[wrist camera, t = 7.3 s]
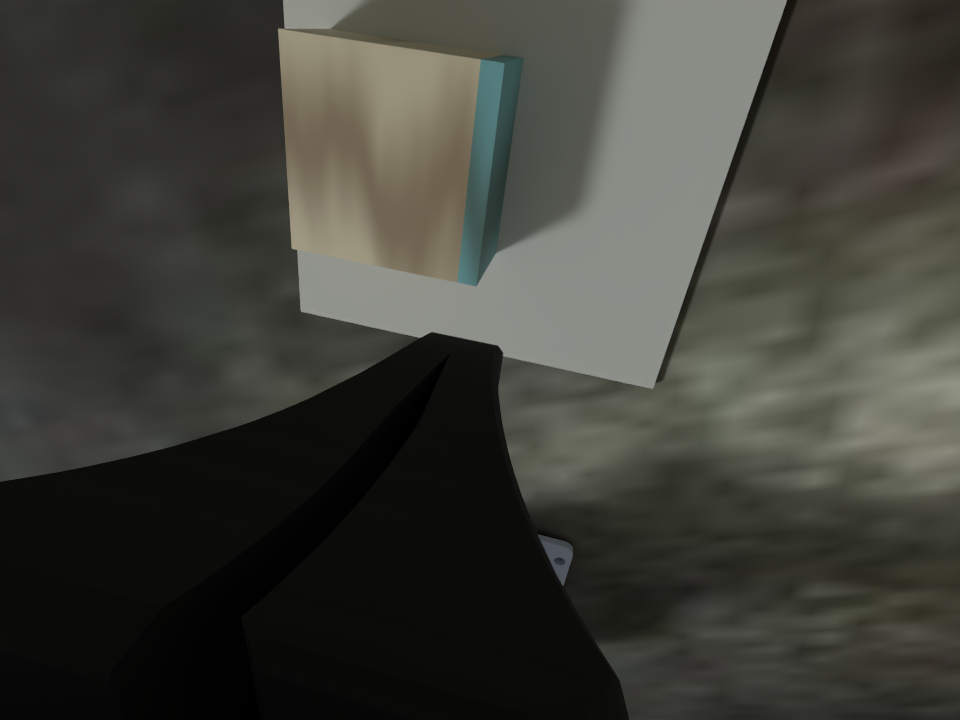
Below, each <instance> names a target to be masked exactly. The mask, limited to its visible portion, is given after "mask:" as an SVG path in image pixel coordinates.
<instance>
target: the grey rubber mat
mask: <svg viewBox="0 0 960 720" xmlns="http://www.w3.org/2000/svg"><path fill="white" fill-rule="evenodd" d="M786 2H787V0H283V5H284V23H285V29H334V30H341V31H347V32H354V33H361V34H367V35H374V36H381V37H387V38H394V39H401V40H407V41H414V42H421V43H427V44H434V45H441V46H447V47H454V48H461V49H467V50H474V51H480V52H487V53H494V54H500V55H507V56H514V57H520V58H523V65H522V72H521V79H520V87H519V94H518V101H517V108H516V115H515V122H514V129H513V136H512V143H511V150H510V157H509V164H508V171H507V179H506V186H505V193H504V200H503V207H502V214H501V221H500V228H499V235H498V242H497V249H496V254H495V256H494V257H493V259H492V261H491V262H490V264H489V266H488V268H487V269H486V271H485V273H484V274H483V276H482V278H481V280H480V281H479V283H478V285H477V286H471V285H467V284H462V283H457V282H452V281H447V280H442V279H437V278H432V277H428V276H423V275H418V274H413V273H408V272H403V271H398V270H393V269H389V268H384V267H379V266H374V265H369V264H364V263H359V262H354V261H350V260H345V259H340V258H335V257H330V256H325V255H320V254H315V253H311V252H306V251H301V250H297V252H298V270H299V288H300V305H301V312H305V313H310V314H314V315H319V316H323V317H328V318H333V319H337V320H342V321H346V322H351V323H355V324H360V325H364V326H369V327H373V328H378V329H383V330H387V331H392V332H396V333H401V334H405V335H410V336H414V337H419V338H421V337H423V336H425V335H427V334H429V333H431V332H435V333H439V334H444V335H449V336H454V337H459V338H464V339H469V340H474V341H478V342H483V343H488V344H493V345H498V346H499V347H500V349H501V350H502V352H503V356H505V357H510V358H514V359H519V360H523V361H528V362H533V363H537V364H542V365H546V366H551V367H555V368H560V369H564V370H569V371H573V372H578V373H583V374H587V375H592V376H596V377H601V378H605V379H610V380H614V381H619V382H623V383H628V384H633V385H637V386H642V387H646V388H651V389H653V387H654V384H655V382H656V379H657V376H658V373H659V370H660V367H661V364H662V361H663V358H664V355H665V353H666V350H667V347H668V344H669V341H670V338H671V335H672V332H673V329H674V326H675V324H676V321H677V318H678V315H679V312H680V309H681V306H682V303H683V300H684V297H685V295H686V292H687V289H688V286H689V283H690V280H691V277H692V274H693V271H694V268H695V266H696V263H697V260H698V257H699V254H700V251H701V248H702V245H703V242H704V239H705V237H706V234H707V231H708V228H709V225H710V222H711V219H712V216H713V213H714V210H715V208H716V205H717V202H718V199H719V196H720V193H721V190H722V187H723V184H724V181H725V179H726V176H727V173H728V170H729V167H730V164H731V161H732V158H733V155H734V152H735V150H736V147H737V144H738V141H739V138H740V135H741V132H742V129H743V126H744V124H745V121H746V118H747V115H748V112H749V109H750V106H751V103H752V100H753V97H754V95H755V92H756V89H757V86H758V83H759V80H760V77H761V74H762V71H763V68H764V66H765V63H766V60H767V57H768V54H769V51H770V48H771V45H772V42H773V39H774V37H775V34H776V31H777V28H778V25H779V22H780V19H781V16H782V13H783V10H784V8H785V5H786Z"/></svg>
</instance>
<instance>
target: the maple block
mask: <svg viewBox="0 0 960 720" xmlns="http://www.w3.org/2000/svg"><path fill="white" fill-rule="evenodd" d="M278 33H279V49H280V65H281V81H282V97H283V113H284V130H285V146H286V162H287V178H288V194H289V210H290V226H291V242H292V249H296V250H301V251H306V252H311V253H315V254H320V255H325V256H330V257H335V258H340V259H345V260H350V261H354V262H359V263H364V264H369V265H374V266H379V267H384V268H389V269H393V270H398V271H403V272H408V273H413V274H418V275H423V276H428V277H432V278H437V279H442V280H447V281H452V282H457V283H462V284H467V285H471V286H477V285H478V283H479V281H480V280H481V278H482V276H483V274H484V273H485V271H486V269H487V268H488V266H489V264H490V262H491V261H492V259H493V257H494V256H495V254H496V249H497V242H498V235H499V228H500V221H501V214H502V207H503V200H504V193H505V186H506V179H507V171H508V164H509V157H510V150H511V143H512V136H513V129H514V122H515V115H516V108H517V101H518V94H519V87H520V79H521V72H522V65H523V58H520V57H514V56H507V55H500V54H494V53H487V52H480V51H474V50H467V49H461V48H454V47H447V46H441V45H434V44H427V43H421V42H414V41H407V40H401V39H394V38H387V37H381V36H374V35H367V34H361V33H354V32H347V31H341V30H334V29H278Z"/></svg>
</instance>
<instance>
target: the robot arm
mask: <svg viewBox="0 0 960 720" xmlns="http://www.w3.org/2000/svg"><path fill="white" fill-rule="evenodd" d="M502 358H503V352H502V350H501V349H500V347H499V346H498V345H493V344H488V343H483V342H478V341H474V340H469V339H464V338H459V337H454V336H449V335H444V334H439V333H435V332H431V333H429V334H427V335H425V336H423V337H421V338H420V339H418V340H416V341H415V342H413V343H411V344H409V345H408V346H406V347H404V348H403V349H401V350H399V351H398V352H396V353H394V354H393V355H391V356H389V357H387V358H386V359H384V360H382V361H380V362H379V363H377V364H375V365H373V366H372V367H370V368H368V369H366V370H365V371H363V372H361V373H359V374H357V375H355V376H353V377H351V378H349V379H347V380H345V381H343V382H341V383H339V384H337V385H335V386H333V387H331V388H329V389H327V390H325V391H323V392H321V393H319V394H317V395H315V396H313V397H311V398H309V399H307V400H305V401H302V402H300V403H298V404H296V405H293V406H291V407H288V408H286V409H284V410H281V411H279V412H276V413H273V414H271V415H268V416H265V417H263V418H260V419H258V420H255V421H252V422H250V423H247V424H244V425H241V426H238V427H235V428H232V429H228V430H225V431H222V432H219V433H215V434H212V435H209V436H206V437H202V438H199V439H196V440H193V441H189V442H186V443H183V444H180V445H176V446H173V447H169V448H165V449H161V450H157V451H153V452H149V453H145V454H141V455H137V456H133V457H129V458H124V459H120V460H115V461H111V462H106V463H102V464H97V465H93V466H88V467H83V468H78V469H73V470H68V471H63V472H57V473H51V474H45V475H39V476H33V477H27V478H21V479H15V480H9V481H3V482H0V720H629V717H628V712H627V708H626V704H625V700H624V696H623V692H622V688H621V684H620V681H619V679H618V677H617V675H616V674H615V672H614V671H613V669H612V667H611V666H610V664H609V663H608V661H607V660H606V658H605V657H604V655H603V653H602V652H601V650H600V649H599V647H598V646H597V644H596V643H595V641H594V639H593V638H592V636H591V634H590V633H589V631H588V629H587V628H586V626H585V624H584V623H583V621H582V619H581V618H580V616H579V614H578V613H577V611H576V609H575V607H574V606H573V604H572V602H571V600H570V598H569V596H568V595H567V593H566V591H565V589H564V587H563V586H564V583H565V579H566V576H567V573H568V570H569V567H570V563H571V560H572V557H573V547H572V545H571V544H569V543H568V542H565V541H562V540H558V539H554V538H550V537H547V536H543V535H539V534H537V532H536V530H535V528H534V525H533V523H532V521H531V519H530V516H529V513H528V511H527V508H526V505H525V503H524V500H523V498H522V495H521V492H520V489H519V486H518V483H517V480H516V477H515V474H514V471H513V467H512V464H511V460H510V456H509V453H508V449H507V444H506V440H505V435H504V431H503V425H502V419H501V412H500V404H499V395H498V385H499V378H500V372H501V365H502ZM559 558H562V559H559Z"/></svg>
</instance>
